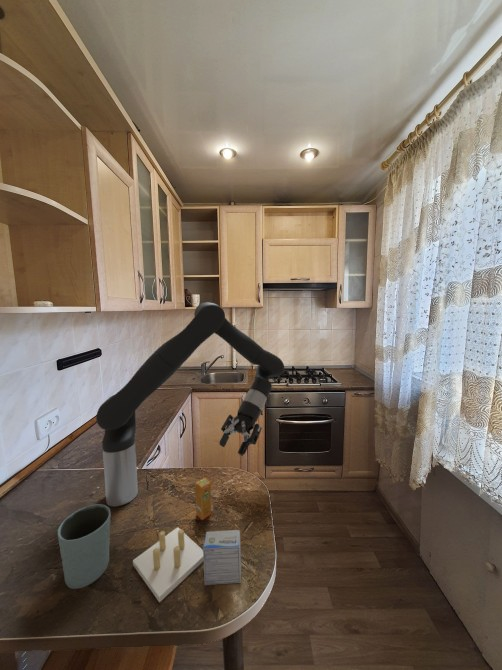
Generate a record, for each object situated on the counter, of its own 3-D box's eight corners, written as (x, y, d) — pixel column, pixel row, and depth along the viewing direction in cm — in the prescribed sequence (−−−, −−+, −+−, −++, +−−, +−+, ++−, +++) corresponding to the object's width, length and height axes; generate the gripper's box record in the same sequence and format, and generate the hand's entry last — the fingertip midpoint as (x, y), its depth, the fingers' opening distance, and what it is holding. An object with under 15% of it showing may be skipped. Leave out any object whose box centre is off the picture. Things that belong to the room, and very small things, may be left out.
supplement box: (202, 521, 70) (200, 487, 69) (195, 514, 73) (194, 481, 72) (212, 515, 72) (210, 482, 72) (205, 508, 75) (204, 476, 74)
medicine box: (241, 564, 58) (240, 528, 57) (241, 584, 53) (240, 546, 53) (207, 566, 57) (205, 530, 57) (204, 586, 53) (202, 548, 52)
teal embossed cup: (85, 547, 63) (82, 502, 62) (123, 550, 62) (120, 504, 61) (49, 591, 53) (44, 538, 52) (93, 595, 52) (89, 541, 51)
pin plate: (133, 565, 58) (131, 544, 58) (178, 531, 67) (177, 512, 67) (159, 602, 50) (158, 578, 50) (206, 558, 59) (205, 537, 59)
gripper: (232, 396, 90) (209, 438, 83) (263, 404, 81) (240, 453, 73) (243, 406, 95) (221, 447, 87) (273, 415, 86) (252, 462, 78)
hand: (230, 450), depth 80 cm, fingers open, 8 cm apart
